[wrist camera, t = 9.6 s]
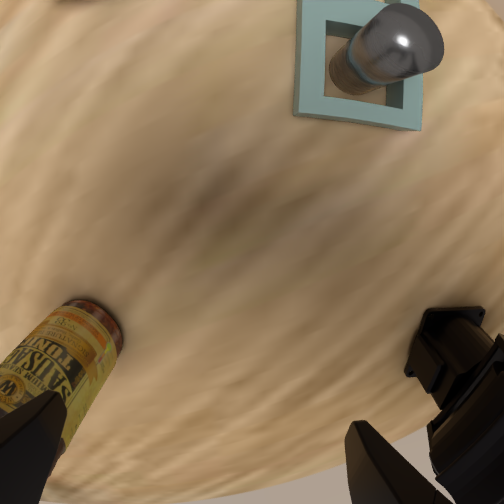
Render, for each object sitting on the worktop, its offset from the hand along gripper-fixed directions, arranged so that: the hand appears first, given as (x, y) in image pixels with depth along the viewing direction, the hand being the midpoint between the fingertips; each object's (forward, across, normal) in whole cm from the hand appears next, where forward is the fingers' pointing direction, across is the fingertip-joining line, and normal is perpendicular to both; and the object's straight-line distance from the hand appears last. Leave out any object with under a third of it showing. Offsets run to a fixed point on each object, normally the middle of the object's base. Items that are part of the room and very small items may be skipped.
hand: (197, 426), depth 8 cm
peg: (+13, -7, -12) cm, 19 cm away
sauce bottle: (+13, +11, +7) cm, 18 cm away
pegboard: (+13, -7, -16) cm, 21 cm away
